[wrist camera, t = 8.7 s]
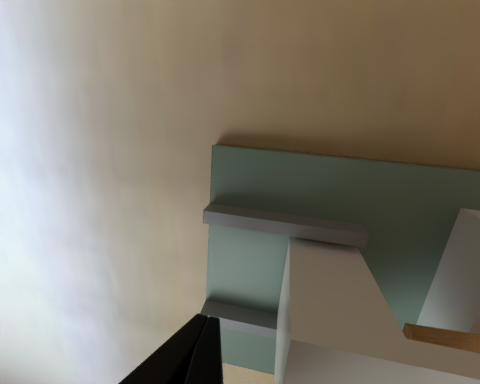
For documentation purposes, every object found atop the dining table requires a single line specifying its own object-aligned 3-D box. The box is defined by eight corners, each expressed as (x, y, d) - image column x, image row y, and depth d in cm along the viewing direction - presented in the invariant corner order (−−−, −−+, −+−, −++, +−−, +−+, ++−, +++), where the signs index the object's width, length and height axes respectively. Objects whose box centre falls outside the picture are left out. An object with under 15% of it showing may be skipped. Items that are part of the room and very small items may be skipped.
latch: (407, 338, 12) (502, 515, 6) (277, 312, 13) (270, 449, 7) (437, 259, 10) (587, 403, 5) (289, 237, 11) (291, 338, 6)
